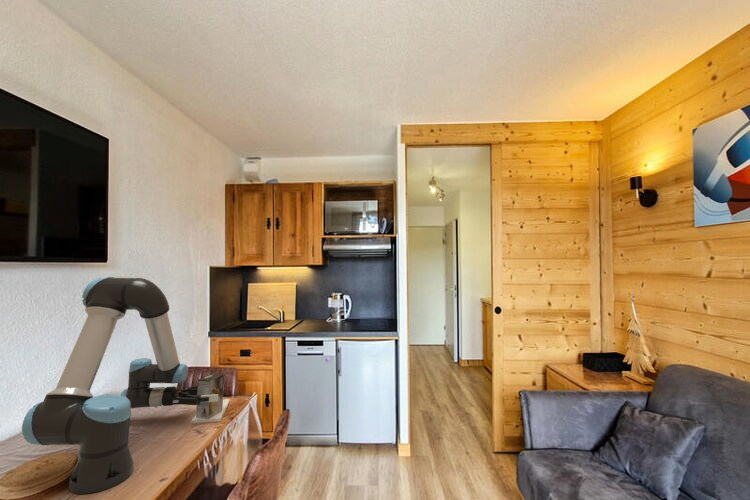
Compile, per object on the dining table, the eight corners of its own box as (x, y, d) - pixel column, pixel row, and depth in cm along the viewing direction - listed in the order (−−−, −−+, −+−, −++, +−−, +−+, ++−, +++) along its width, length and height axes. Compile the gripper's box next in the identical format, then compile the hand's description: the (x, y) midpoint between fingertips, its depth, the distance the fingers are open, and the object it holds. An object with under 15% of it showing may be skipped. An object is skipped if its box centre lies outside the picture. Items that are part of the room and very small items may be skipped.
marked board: (220, 421, 140) (220, 418, 140) (191, 423, 138) (191, 420, 138) (229, 401, 162) (229, 398, 162) (205, 403, 159) (205, 400, 159)
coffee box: (210, 409, 149) (212, 372, 150) (222, 410, 148) (224, 374, 149) (195, 418, 140) (197, 379, 141) (208, 419, 139) (210, 380, 140)
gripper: (173, 395, 151) (225, 392, 156) (152, 417, 129) (214, 412, 134) (174, 378, 152) (226, 376, 157) (153, 397, 130) (215, 393, 135)
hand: (220, 393), depth 146 cm, fingers closed on coffee box, 10 cm apart
